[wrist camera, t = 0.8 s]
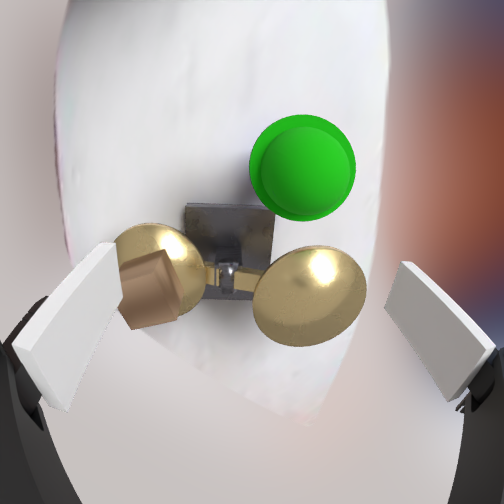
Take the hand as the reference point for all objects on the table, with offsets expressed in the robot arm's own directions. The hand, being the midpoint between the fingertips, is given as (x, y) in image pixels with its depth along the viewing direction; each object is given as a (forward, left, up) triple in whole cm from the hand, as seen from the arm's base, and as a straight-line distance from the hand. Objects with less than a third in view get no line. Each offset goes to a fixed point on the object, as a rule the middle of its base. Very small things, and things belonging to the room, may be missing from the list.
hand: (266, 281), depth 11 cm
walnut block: (+8, -9, -14) cm, 19 cm away
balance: (+8, -2, -21) cm, 22 cm away
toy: (-4, +3, -21) cm, 21 cm away
